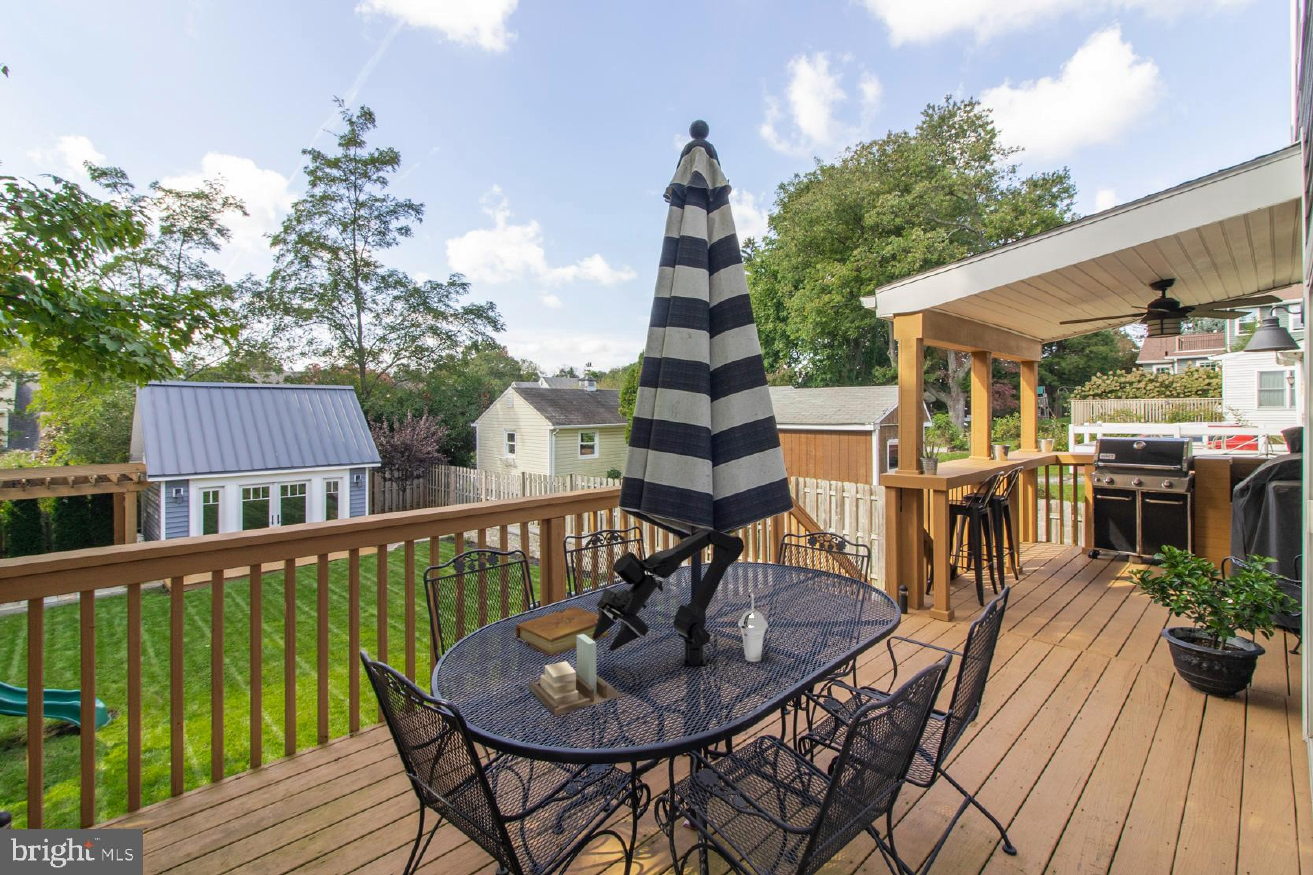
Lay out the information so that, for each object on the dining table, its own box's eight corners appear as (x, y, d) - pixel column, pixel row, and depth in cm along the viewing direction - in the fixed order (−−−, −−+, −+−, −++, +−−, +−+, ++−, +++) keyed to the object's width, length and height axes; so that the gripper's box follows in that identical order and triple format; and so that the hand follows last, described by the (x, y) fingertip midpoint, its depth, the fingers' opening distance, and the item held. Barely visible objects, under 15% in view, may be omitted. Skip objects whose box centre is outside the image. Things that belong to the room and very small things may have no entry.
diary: (573, 622, 200) (573, 605, 200) (609, 636, 187) (609, 618, 187) (515, 641, 184) (515, 623, 183) (550, 657, 171) (550, 638, 170)
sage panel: (584, 683, 151) (583, 633, 151) (596, 693, 145) (596, 642, 145) (577, 685, 150) (576, 635, 150) (589, 695, 144) (588, 644, 144)
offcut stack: (564, 686, 149) (563, 659, 149) (579, 701, 142) (579, 671, 141) (539, 693, 145) (539, 665, 145) (554, 708, 138) (554, 678, 138)
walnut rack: (593, 675, 158) (593, 661, 158) (623, 698, 144) (622, 683, 144) (529, 692, 148) (529, 678, 148) (555, 719, 134) (555, 703, 134)
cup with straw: (773, 658, 168) (773, 589, 167) (755, 667, 162) (755, 596, 161) (749, 650, 174) (749, 583, 173) (730, 659, 168) (730, 590, 167)
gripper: (602, 569, 160) (566, 616, 154) (638, 585, 144) (599, 638, 139) (627, 592, 165) (592, 639, 159) (664, 610, 149) (627, 663, 143)
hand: (601, 644), depth 150 cm, fingers open, 9 cm apart
